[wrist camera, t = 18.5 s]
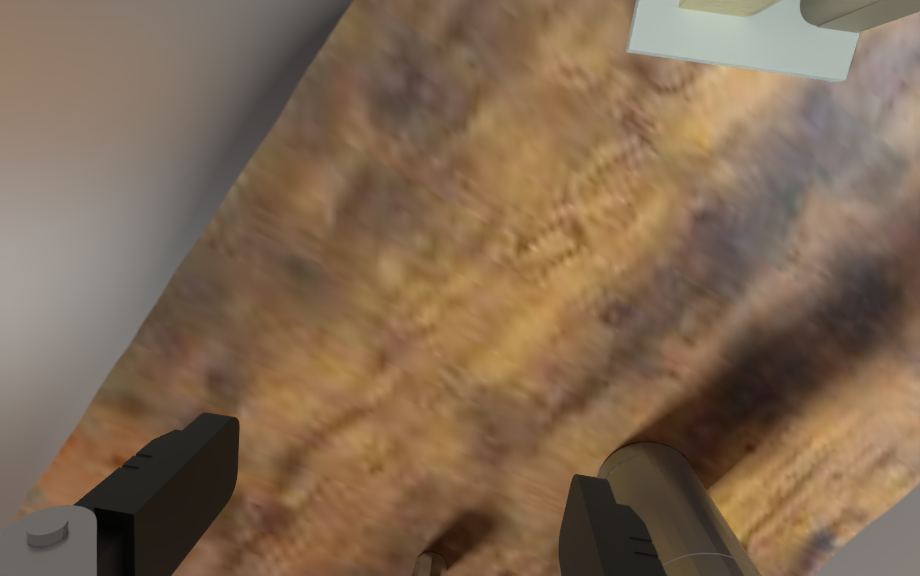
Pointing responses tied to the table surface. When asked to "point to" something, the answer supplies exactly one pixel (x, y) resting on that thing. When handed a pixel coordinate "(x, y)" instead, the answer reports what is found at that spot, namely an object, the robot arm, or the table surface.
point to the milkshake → (430, 565)
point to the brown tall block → (728, 6)
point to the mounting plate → (764, 34)
